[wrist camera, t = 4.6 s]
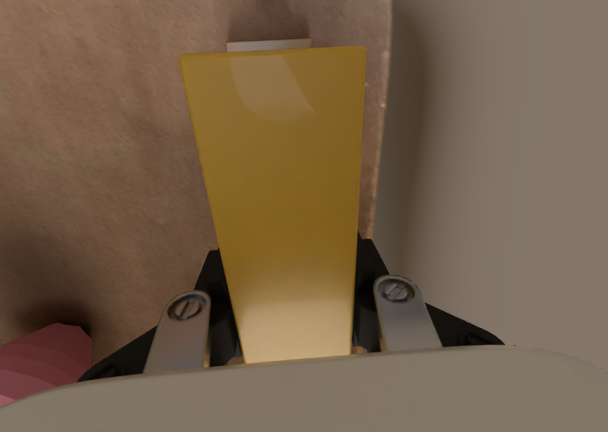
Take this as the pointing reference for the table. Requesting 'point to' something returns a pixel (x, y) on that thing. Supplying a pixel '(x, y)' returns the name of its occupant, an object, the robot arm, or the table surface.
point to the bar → (283, 190)
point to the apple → (43, 361)
